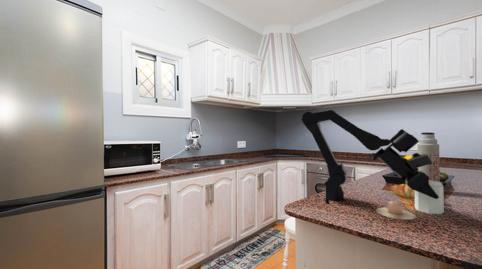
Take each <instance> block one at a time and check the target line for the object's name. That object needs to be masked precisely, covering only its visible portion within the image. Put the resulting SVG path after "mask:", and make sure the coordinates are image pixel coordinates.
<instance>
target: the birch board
mask: <svg viewBox="0 0 482 269" xmlns="http://www.w3.org/2000/svg"><path fill="white" fill-rule="evenodd" d="M375 211H376V213H377V214H379V215H382V216H384V217H387V218H391V219H396V220H397V219H398V220H414V219H416V218H417V216H416V214H415V213H412V212H411V211H408V210H405V209H402V215H394V214H390V213H388V207H384V206H383V207H377V208H376V209H375Z"/></svg>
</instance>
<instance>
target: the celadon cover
mask: <svg viewBox="0 0 482 269" xmlns="http://www.w3.org/2000/svg"><path fill="white" fill-rule="evenodd" d="M429 185H430V186H431V188H432V189H433V190H434V191H435V193H436V194H437V195H438V196H439V198H438V199H434V198H432V197H430V196H427V195H425V194H423V193H420V192H418V191H415V199H414V209H415V210H417V211H419V212H422V213H426V214H430V215H431V214H432V215H441V214H444V212H445V211H444V209H445V207H444V206H445V204H444V202H445V200H444V199H445V198H444V185H443V183H442V182H441V181H440V182H437V181H431V180H429Z"/></svg>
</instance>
